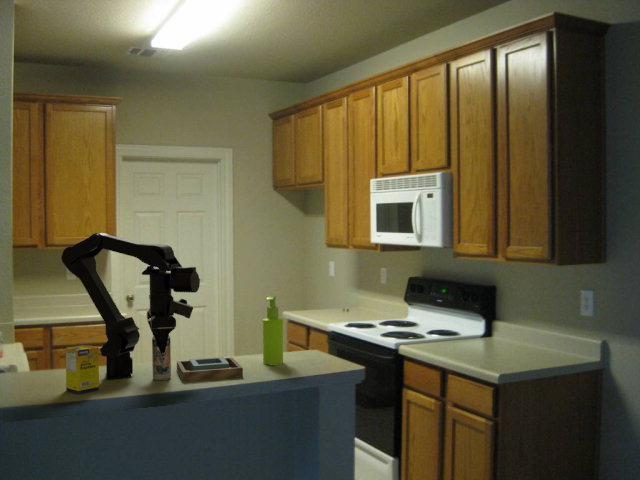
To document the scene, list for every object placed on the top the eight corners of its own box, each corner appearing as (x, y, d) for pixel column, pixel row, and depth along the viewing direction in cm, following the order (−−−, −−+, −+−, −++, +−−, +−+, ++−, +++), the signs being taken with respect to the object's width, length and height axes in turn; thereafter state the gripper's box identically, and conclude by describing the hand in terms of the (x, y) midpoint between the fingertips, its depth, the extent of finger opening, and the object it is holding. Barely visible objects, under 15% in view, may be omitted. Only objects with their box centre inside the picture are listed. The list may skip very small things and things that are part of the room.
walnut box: (183, 381, 181) (182, 372, 180) (176, 370, 195) (176, 361, 195) (242, 377, 185) (242, 367, 185) (232, 365, 200) (232, 357, 200)
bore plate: (193, 377, 184) (193, 366, 184) (189, 369, 193) (189, 359, 193) (229, 374, 187) (229, 363, 187) (223, 367, 196) (223, 356, 196)
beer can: (152, 381, 181) (152, 336, 181) (152, 377, 186) (151, 333, 186) (171, 380, 183) (170, 335, 182) (170, 376, 187) (169, 332, 187)
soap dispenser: (260, 365, 200) (259, 297, 200) (266, 360, 207) (265, 294, 206) (279, 366, 199) (279, 297, 198) (285, 361, 206) (284, 294, 205)
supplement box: (99, 389, 173) (99, 346, 172) (77, 394, 168) (76, 350, 168) (87, 386, 177) (86, 344, 176) (65, 390, 172) (64, 347, 172)
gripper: (195, 294, 177) (196, 354, 178) (186, 287, 195) (187, 342, 195) (151, 295, 174) (152, 357, 174) (146, 288, 191) (146, 344, 192)
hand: (161, 349), depth 184 cm, fingers open, 9 cm apart
